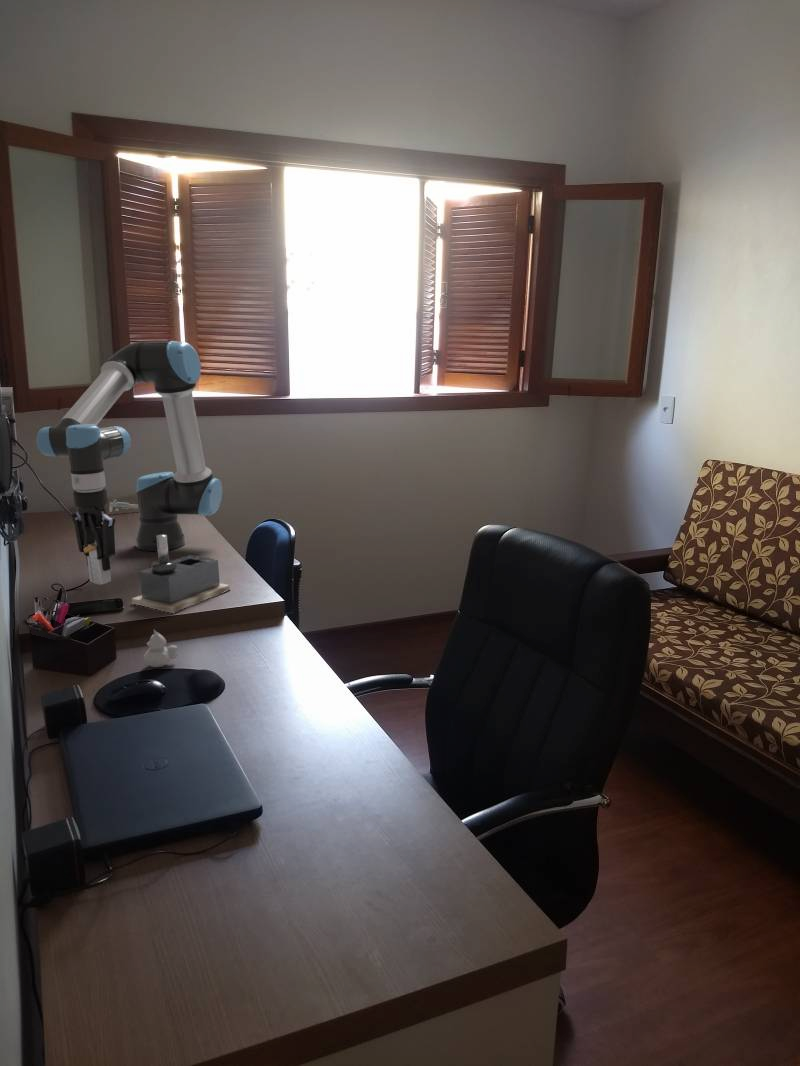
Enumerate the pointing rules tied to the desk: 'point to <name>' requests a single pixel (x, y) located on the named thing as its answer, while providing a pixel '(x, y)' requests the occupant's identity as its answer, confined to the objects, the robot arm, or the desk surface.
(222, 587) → the base board
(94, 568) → the light grey boxy piece
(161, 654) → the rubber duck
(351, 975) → the desk surface
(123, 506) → the caliper
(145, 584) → the block
